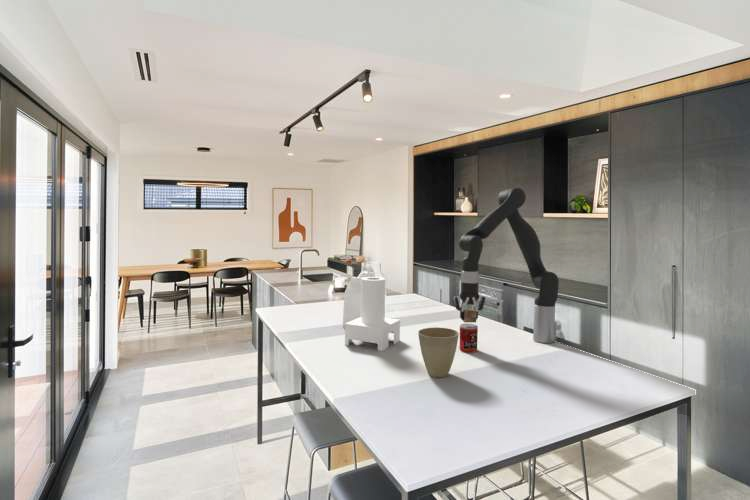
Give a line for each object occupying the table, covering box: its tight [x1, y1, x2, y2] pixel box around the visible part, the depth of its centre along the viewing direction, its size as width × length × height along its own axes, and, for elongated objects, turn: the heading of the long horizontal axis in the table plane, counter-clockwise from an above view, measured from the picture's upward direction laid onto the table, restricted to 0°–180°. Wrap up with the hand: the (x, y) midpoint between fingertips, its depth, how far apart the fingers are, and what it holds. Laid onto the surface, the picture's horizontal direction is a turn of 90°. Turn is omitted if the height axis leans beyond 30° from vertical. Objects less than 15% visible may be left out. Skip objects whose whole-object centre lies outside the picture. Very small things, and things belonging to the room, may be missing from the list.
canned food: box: [459, 323, 479, 354], centre depth 196 cm, size 8×8×11 cm
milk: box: [342, 276, 362, 329], centre depth 237 cm, size 12×12×26 cm
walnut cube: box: [462, 308, 477, 324], centre depth 195 cm, size 5×5×5 cm
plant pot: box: [417, 326, 460, 378], centre depth 166 cm, size 15×15×16 cm
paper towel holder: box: [344, 276, 401, 352], centre depth 205 cm, size 19×19×30 cm
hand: (468, 319), depth 195 cm, fingers closed on walnut cube, 5 cm apart
